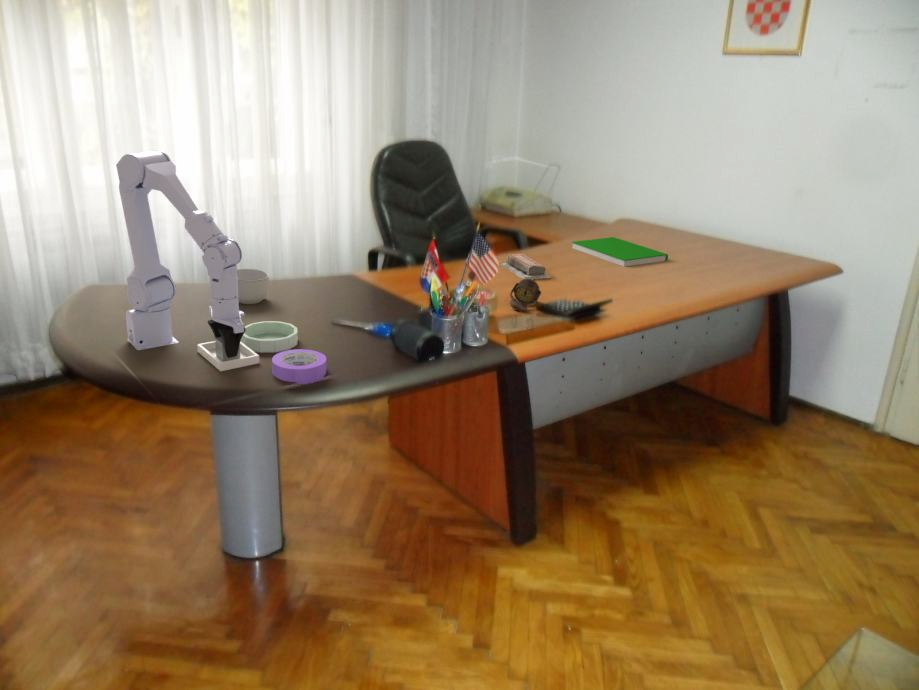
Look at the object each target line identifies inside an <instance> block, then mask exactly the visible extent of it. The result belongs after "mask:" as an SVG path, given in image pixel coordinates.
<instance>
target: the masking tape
mask: <svg viewBox="0 0 919 690" xmlns="http://www.w3.org/2000/svg"><path fill="white" fill-rule="evenodd" d="M271 370H272V371H271V374H272V375H273V376H274V377H275V378H276V379H278V380H280V381H284V382H289V383H291V385H293V384H297V385H296V386H298V385H299V384H303V385H310V384H315V383H317V381H318V382H320V381H321V380H324V379H325V378H326V374H327V370H328V369H327V357H326V355H325V354H323V352H319V351H316V350H312V349H302V348H300V349H289V350H284V351H279V352H277V353H276V354H275V355H273V357H272V358H271ZM314 382H315V383H314ZM309 383H310V384H309ZM299 386H300V385H299Z"/></svg>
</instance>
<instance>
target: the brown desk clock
mask: <svg viewBox="0 0 919 690" xmlns="http://www.w3.org/2000/svg"><path fill="white" fill-rule="evenodd" d="M513 295H514V296H513ZM541 295H542V291H541V290H540V286H539V284H538V282H537V281H535V280H532V279H527V278H526V279H521V280H520V281H519V282H516V283H515V285H514V286H513V287H512V289H511V290H510V293H509V297H510V299H511V300H510V301H509V306H510V307H511V309H512V310H515V311H518V310H519V311H518V312H524V311H527V310H528V307H532V306H534V305H536V304H537V302H538V300H539V298H540V296H541Z"/></svg>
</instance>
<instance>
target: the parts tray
mask: <svg viewBox="0 0 919 690" xmlns="http://www.w3.org/2000/svg"><path fill="white" fill-rule="evenodd" d="M196 345H197V352H198V354H200V355H201V356H202V357H203V358H204V359H206V361H208V362H209V363H210V364H211V365H212V366H214V367H215V368H216V370H218V371H219V372H223V371H228V370H233V369H238V368H243V367H244V368H245V367H249V366H252V365H257V364H260V355H259V354H258V353H257V352H256V351H253V350H251V349H250V348H249V347H247V346H246V345H245V344H243V343H242V342H241V341H240V358H239V359H234V360H229V361H225V362H223V361H222V360H220V359H219V358H218V357H217V356H216V345H215V340H214V341H213V340H212V341H207V342H202V343H197V344H196Z"/></svg>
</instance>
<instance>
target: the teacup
mask: <svg viewBox="0 0 919 690" xmlns="http://www.w3.org/2000/svg"><path fill="white" fill-rule="evenodd" d="M269 278H270V274H269V272H267V271H265V270H262V269H259V268H249V267H248V268H237V280H238V300H239V304H243V305H256V304H259V303H261V302H262V301H264V300H265V299H266V298H267V296H268V294H269V287H270V285H269V284H270V283H269V281H270V279H269Z"/></svg>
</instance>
